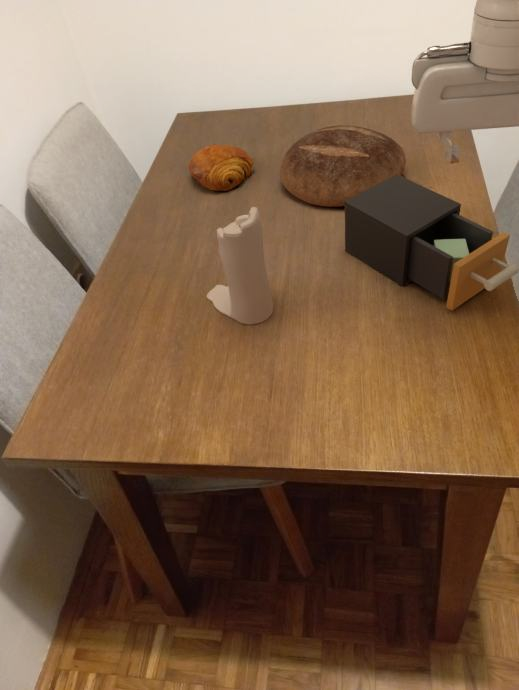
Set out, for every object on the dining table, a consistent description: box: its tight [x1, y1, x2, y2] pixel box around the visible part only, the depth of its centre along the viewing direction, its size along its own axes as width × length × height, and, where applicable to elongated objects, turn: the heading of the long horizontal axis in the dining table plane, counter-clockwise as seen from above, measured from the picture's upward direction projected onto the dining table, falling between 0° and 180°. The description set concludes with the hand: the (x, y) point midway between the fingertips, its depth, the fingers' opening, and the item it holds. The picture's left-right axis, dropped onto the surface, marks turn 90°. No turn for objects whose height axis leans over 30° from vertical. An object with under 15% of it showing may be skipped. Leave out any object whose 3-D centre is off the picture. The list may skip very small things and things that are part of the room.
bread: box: [279, 125, 407, 208], centre depth 114 cm, size 26×27×10 cm
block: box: [433, 239, 469, 282], centre depth 87 cm, size 5×5×5 cm
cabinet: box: [344, 174, 462, 288], centre depth 93 cm, size 15×13×11 cm
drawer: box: [406, 212, 519, 311], centre depth 85 cm, size 18×11×9 cm, turn 36°
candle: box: [206, 206, 274, 326], centre depth 86 cm, size 7×14×20 cm, turn 50°
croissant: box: [187, 143, 254, 192], centre depth 123 cm, size 14×16×8 cm
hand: (490, 158), depth 66 cm, fingers open, 8 cm apart
